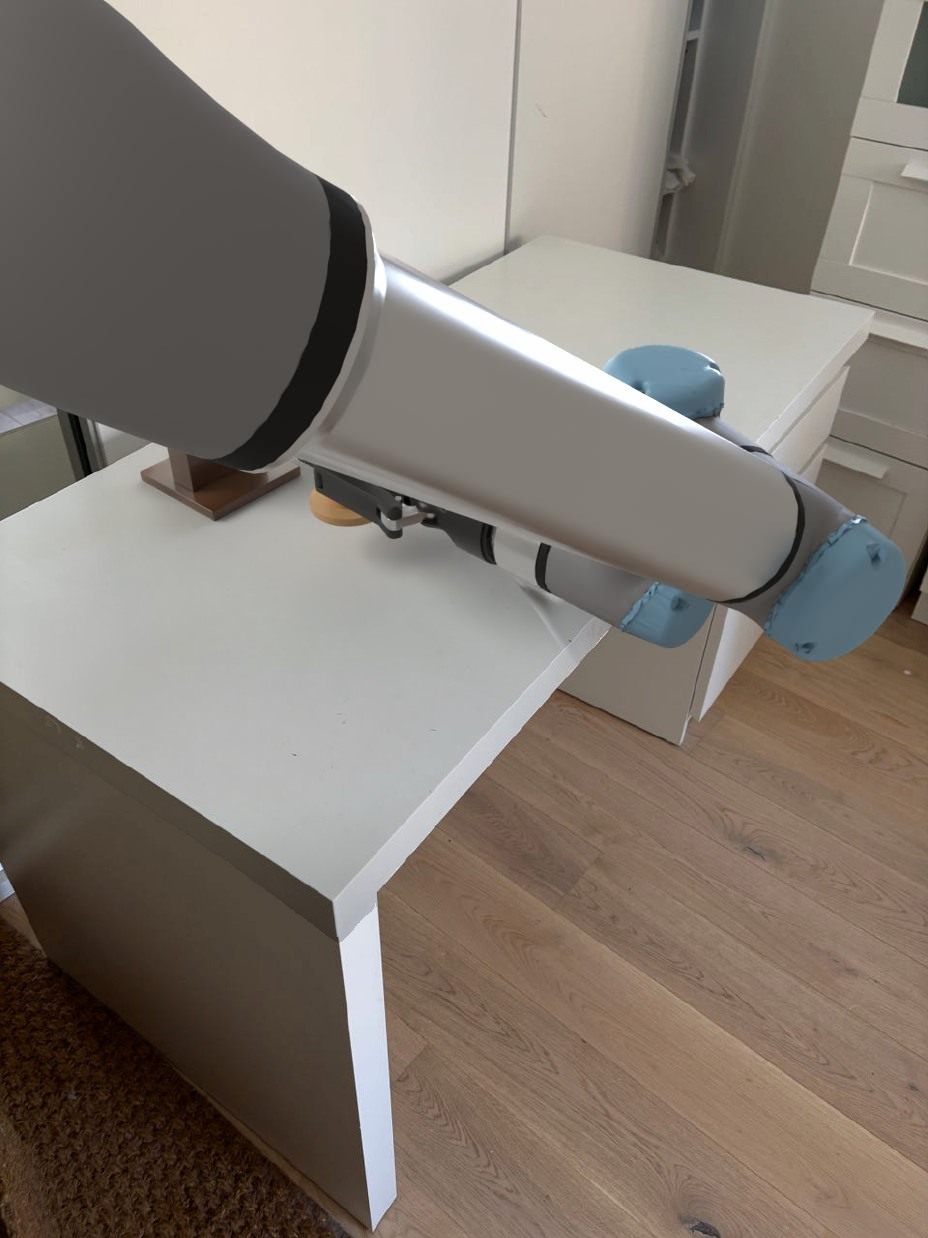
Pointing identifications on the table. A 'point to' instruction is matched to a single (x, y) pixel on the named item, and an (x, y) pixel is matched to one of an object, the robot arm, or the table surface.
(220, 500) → the wooden stand
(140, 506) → the table surface
